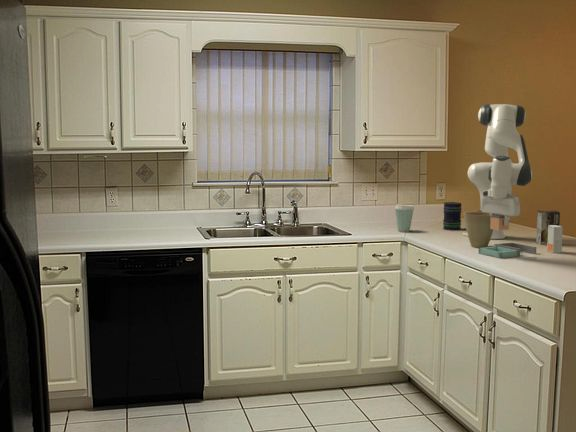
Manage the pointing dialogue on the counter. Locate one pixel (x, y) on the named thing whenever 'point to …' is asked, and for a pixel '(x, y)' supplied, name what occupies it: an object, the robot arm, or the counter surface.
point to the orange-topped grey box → (498, 222)
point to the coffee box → (546, 224)
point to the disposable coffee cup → (404, 217)
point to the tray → (498, 252)
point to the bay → (518, 247)
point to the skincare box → (554, 239)
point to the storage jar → (452, 216)
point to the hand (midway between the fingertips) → (499, 224)
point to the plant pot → (478, 228)
